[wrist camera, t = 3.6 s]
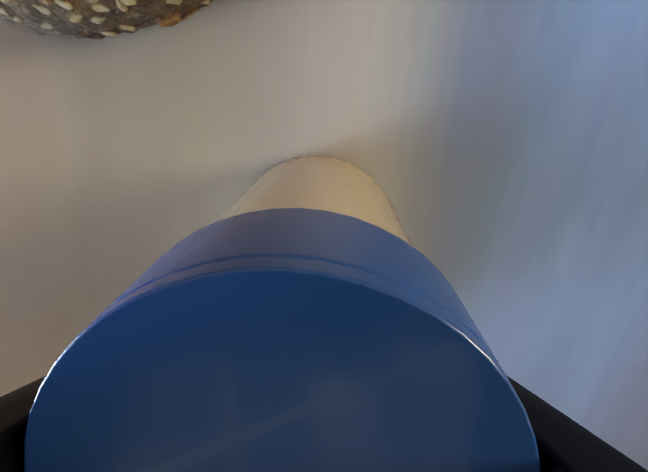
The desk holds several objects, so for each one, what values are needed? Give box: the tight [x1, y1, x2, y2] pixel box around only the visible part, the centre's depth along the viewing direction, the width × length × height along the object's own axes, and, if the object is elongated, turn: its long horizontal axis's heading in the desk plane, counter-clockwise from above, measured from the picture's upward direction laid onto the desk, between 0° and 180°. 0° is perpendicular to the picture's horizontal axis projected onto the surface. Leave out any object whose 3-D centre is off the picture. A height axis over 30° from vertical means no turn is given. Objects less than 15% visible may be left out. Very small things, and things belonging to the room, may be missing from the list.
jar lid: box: [24, 208, 540, 472], centre depth 7 cm, size 7×7×3 cm
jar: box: [221, 156, 412, 246], centre depth 11 cm, size 6×6×11 cm
